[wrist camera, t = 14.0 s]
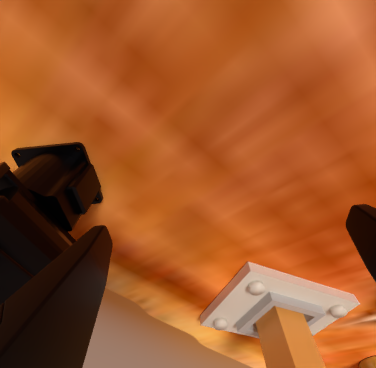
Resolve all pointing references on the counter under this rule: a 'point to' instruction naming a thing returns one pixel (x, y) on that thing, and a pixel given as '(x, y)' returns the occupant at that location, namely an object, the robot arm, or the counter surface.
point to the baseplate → (274, 301)
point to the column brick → (287, 340)
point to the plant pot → (368, 362)
